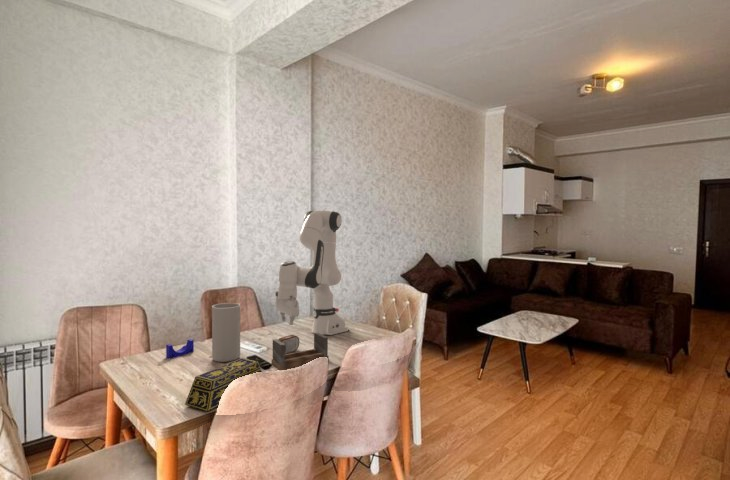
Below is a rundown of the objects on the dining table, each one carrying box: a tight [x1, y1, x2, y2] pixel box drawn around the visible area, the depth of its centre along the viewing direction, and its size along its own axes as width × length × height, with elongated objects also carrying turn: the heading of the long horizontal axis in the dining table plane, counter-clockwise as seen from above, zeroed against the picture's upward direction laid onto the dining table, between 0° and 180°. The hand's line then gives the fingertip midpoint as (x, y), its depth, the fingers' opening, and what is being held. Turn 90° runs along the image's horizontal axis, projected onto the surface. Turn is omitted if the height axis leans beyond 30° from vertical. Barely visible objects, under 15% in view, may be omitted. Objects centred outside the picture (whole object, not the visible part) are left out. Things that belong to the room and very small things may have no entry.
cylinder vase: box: [211, 302, 241, 363], centre depth 183 cm, size 12×12×25 cm
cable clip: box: [165, 338, 195, 359], centre depth 189 cm, size 12×4×6 cm, turn 143°
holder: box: [271, 332, 330, 371], centre depth 179 cm, size 24×10×11 cm, turn 124°
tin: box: [277, 334, 300, 354], centre depth 192 cm, size 15×3×8 cm, turn 145°
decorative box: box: [184, 357, 263, 412], centre depth 147 cm, size 11×30×9 cm, turn 153°
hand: (287, 322), depth 191 cm, fingers open, 8 cm apart
